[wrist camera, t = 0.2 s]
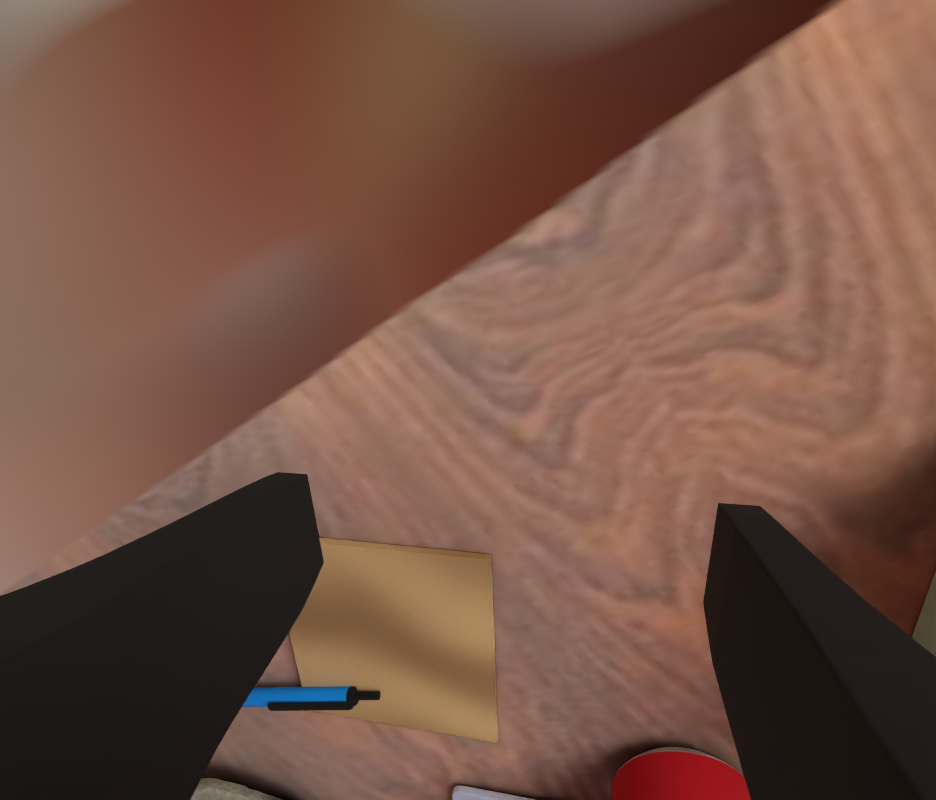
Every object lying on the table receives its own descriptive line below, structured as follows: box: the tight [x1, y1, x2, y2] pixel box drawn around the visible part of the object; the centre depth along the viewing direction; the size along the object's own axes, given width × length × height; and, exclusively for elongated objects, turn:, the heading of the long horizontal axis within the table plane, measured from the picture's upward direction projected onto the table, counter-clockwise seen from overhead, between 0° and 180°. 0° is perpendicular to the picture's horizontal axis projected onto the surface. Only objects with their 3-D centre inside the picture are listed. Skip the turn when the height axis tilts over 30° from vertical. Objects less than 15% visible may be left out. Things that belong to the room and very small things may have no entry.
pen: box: [242, 686, 381, 711], centre depth 29 cm, size 1×19×1 cm, turn 106°
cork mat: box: [289, 537, 499, 743], centre depth 26 cm, size 11×10×1 cm
